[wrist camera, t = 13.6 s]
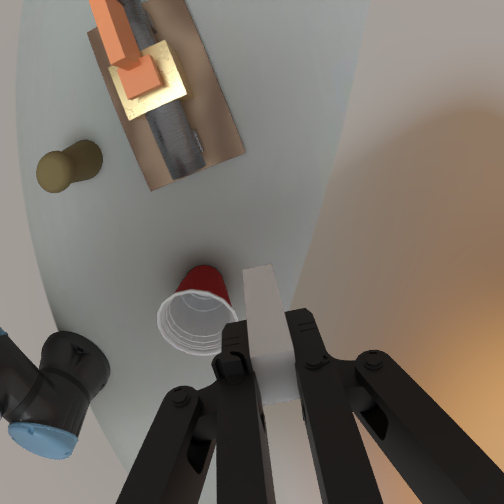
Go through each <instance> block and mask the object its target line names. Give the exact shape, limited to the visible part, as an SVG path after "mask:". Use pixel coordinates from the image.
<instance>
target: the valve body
mask: <svg viewBox="0 0 504 504" xmlns="http://www.w3.org/2000/svg"><path fill="white" fill-rule="evenodd" d="M124 1H125V4H126V5H124V6H123V8H124V10H125V13H126V16H127V19H128V22H129V24H130V27H131V30H132V32H133V35H134V38H135V41H136V43H137V46H138V49H139V51H140V54H141V57H143V56H145V55H147V54H150V55H151V56H152V57H153V59H154V62H155V65H156V67H157V70H158V72H159V75H160V77H161V80H162V83H163V85H164V86H162V87H159V88H157V89H155V90H153V91H151V92H148V93H146V94H144V95H142V96H140V97H138V98H136V99H134V100H128V99H127V96H126V94H125V91H124V88H123V86H122V83H121V80H120V78H119V75H118V72H117V70H116V69H118V68H119V67H116V66H113V65H112V66H110V67H109V68H108V69H109V72H110V74H111V77H112V79H113V82H114V85H115V87H116V90H117V92H118V95H119V97H120V100H121V102H122V105H123V107H124V110H125V112H126V115H127V117H128V120H129V121H131V120H142V119H147V121H148V124H149V126H150V129H151V131H152V133H153V136H154V138H155V140H156V143H157V145H158V148H159V150H160V152H161V155H162V157H163V159H164V162H165V164H166V166H167V169H168V171H169V173H170V175H171V178H172V180H176V179H179V178H182V177H184V176H187V175H189V174H191V173H194V172H196V171H198V170H200V169H202V168H203V167H205V166H206V162H205V160H204V158H203V155H202V153H201V152H203V151H204V150H205V148H204V145H203V143H202V140H201V138H200V135H199V133H198V130H197V129H194V130H192V128H191V126H190V123H189V121H188V118H187V116H186V114H185V111H184V109H183V106H182V104H181V103H184V102H186V101H188V100H191V99H193V98H195V96H194V94H193V92H192V89H191V87H190V84H189V82H188V79H187V77H186V74H185V72H184V69H183V67H182V64H181V62H180V59H179V57H178V55H177V52H176V51H175V50H174V49H173V48H172V47H171V46H170V45H169V43H168V42H167V41H166V40H163V41H161V42H159V43H157V42H156V39H155V37H154V34H155V33H158V32H157V29H156V27H155V24H154V22H153V19H152V17H151V15H150V14H149V13H148V11H147V10H146V9H143V7H142V4H141V2H140V0H124Z"/></svg>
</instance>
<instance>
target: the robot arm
mask: <svg viewBox="0 0 504 504" xmlns="http://www.w3.org/2000/svg"><path fill="white" fill-rule="evenodd" d="M242 270H243V282H244V294H245V305H246V317H247V320H243V321H238V322H232V323H226V325H225V327H224V328H223V330H222V341H221V346H222V347H221V353H219V354H217V355H216V356H215V357H214V359H213V361H212V364H211V365H212V368H213V370H214V373H215V376H216V379H217V380H216V381H215V382H214V383H213V384H211V385H210V386H208V387H205V388H203V389H200V390H195V389H194V388H193V387H190V386H179V387H176V388H173V389H172V390H171V391H169V392H168V393H167V394H166V396H165V397H164V399H163V401H162V403H161V406H160V408H159V410H158V412H157V414H156V416H155V418H154V421H153V423H152V425H151V427H150V429H149V431H148V434H147V436H146V438H145V440H144V442H143V444H142V447H141V449H140V451H139V453H138V455H137V458H136V460H135V462H134V464H133V466H132V469H131V471H130V473H129V475H128V478H127V480H126V482H125V484H124V486H123V488H122V491H121V493H120V495H119V497H118V500H117V502H116V504H198V501H199V498H200V495H201V492H202V488H203V485H204V482H205V479H206V475H207V472H208V469H209V465H210V462H211V459H212V455H213V452H214V449H215V445H216V467H217V504H276V501H275V493H274V486H273V478H272V470H271V462H270V455H269V446H268V439H267V430H266V422H265V415H264V412H263V407H262V405H263V406H264V405H269V404H275V403H280V402H286V401H291V400H296V399H301V406H302V414H303V420H304V421H305V425H306V429H307V434H308V439H309V443H310V448H311V452H312V457H313V462H314V466H315V470H316V475H317V480H318V485H319V489H320V494H321V499H322V503H323V504H383V501H382V498H381V495H380V492H379V489H378V486H377V483H376V479H375V476H374V473H373V471H372V468H371V465H370V461H369V459H368V456H367V453H366V450H365V447H364V444H363V441H362V438H361V435H360V432H359V430H358V427H357V424H356V421H355V419H354V415H353V413H352V412H354V413H355V415H356V416H357V417H358V419H359V420H360V422H361V423H362V424H363V426H364V427H365V428H366V430H367V431H368V432H369V434H370V435H371V436H372V438H373V439H374V440H375V442H376V443H377V444H378V446H379V447H380V448H381V450H382V451H383V452H384V454H385V455H386V456H387V458H388V459H389V460H390V462H391V463H392V464H393V466H394V467H395V468H396V470H397V471H398V472H399V473H400V475H401V476H402V478H403V479H404V480H405V482H406V483H407V484H408V485H409V487H410V488H411V489H412V491H413V492H414V493H415V495H416V496H417V497H418V499H419V500H420V501H421V503H422V504H504V473H503V472H502V471H501V469H500V468H499V467H498V466H497V465H496V464H495V463H494V462H493V461H492V460H491V459H490V458H489V457H488V456H487V455H486V454H485V453H484V451H483V450H482V449H481V448H480V447H479V446H478V445H477V444H476V443H475V442H474V441H473V440H472V439H471V438H470V437H469V436H468V435H467V434H466V433H465V432H464V431H463V430H462V429H461V428H460V427H459V426H458V425H457V423H456V422H455V421H454V420H453V419H452V418H451V417H449V415H448V414H447V413H446V412H445V411H444V410H443V409H442V408H441V407H440V406H439V405H438V404H437V403H436V402H435V401H434V400H433V399H432V398H431V397H430V396H429V395H428V394H427V393H426V392H425V391H424V390H423V389H422V388H421V387H420V386H419V385H418V384H417V383H416V382H415V381H414V380H413V379H412V378H411V377H410V376H409V375H408V374H407V373H406V372H405V371H404V370H403V369H402V368H401V367H400V366H399V365H398V364H397V363H396V362H395V361H394V360H393V359H392V358H391V357H390V356H389V355H388V354H386V353H385V352H383V351H379V350H369V351H365V352H363V353H361V354H360V355H359V356H358V357H357V359H356V360H355V361H346V360H339V359H335V358H333V357H332V356H330V355H329V354H328V352H327V351H326V349H325V346H324V343H323V340H322V338H321V335H320V333H319V330H318V328H317V325H316V323H315V319H314V317H313V314H312V313H311V312H310V311H308V310H307V309H306V308H302V309H297V310H292V311H287V312H284V309H283V306H282V302H281V298H280V294H279V290H278V286H277V283H276V279H275V275H274V271H273V268H272V264H269V265H264V266H258V267H253V268H248V269H242ZM109 374H110V367H109V363H108V361H107V359H106V357H105V356H104V354H103V353H102V352H101V350H100V349H99V348H98V347H97V346H95V345H94V344H93V343H92V342H90V341H89V340H87V339H86V338H84V337H82V336H80V335H77V334H74V333H71V332H56V333H53V334H52V335H50V336H49V337H48V339H47V340H46V342H45V343H44V345H43V348H42V353H41V361H40V366H39V369H38V368H37V367H36V366H35V365H34V364H33V363H32V362H31V361H30V360H29V359H28V358H27V357H26V356H25V354H24V353H23V352H22V351H21V350H20V349H19V348H18V347H17V346H16V345H15V343H14V342H13V341H12V340H11V339H10V338H9V337H8V334H7V333H6V332H4V331H3V330H2V328H1V327H0V420H1V418H2V417H4V418H5V419H6V420H7V421H8V422H9V423H10V424H9V426H8V433H9V435H10V436H11V437H12V439H13V440H14V441H15V442H16V443H17V444H19V445H20V446H22V447H23V448H25V449H26V450H28V451H30V452H32V453H34V454H37V455H39V456H42V457H46V458H50V459H57V460H60V459H65V458H68V457H69V456H70V455H71V454H72V452H73V449H74V447H75V445H76V443H77V442H78V436H79V433H80V430H81V427H82V424H83V421H84V418H85V415H86V412H87V409H88V407H89V404H90V401H91V400H92V399H93V398H94V397H95V396H96V395H97V394H98V392H99V391H100V390H101V389H103V387H104V386H105V385H106V383H107V380H108V377H109Z"/></svg>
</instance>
